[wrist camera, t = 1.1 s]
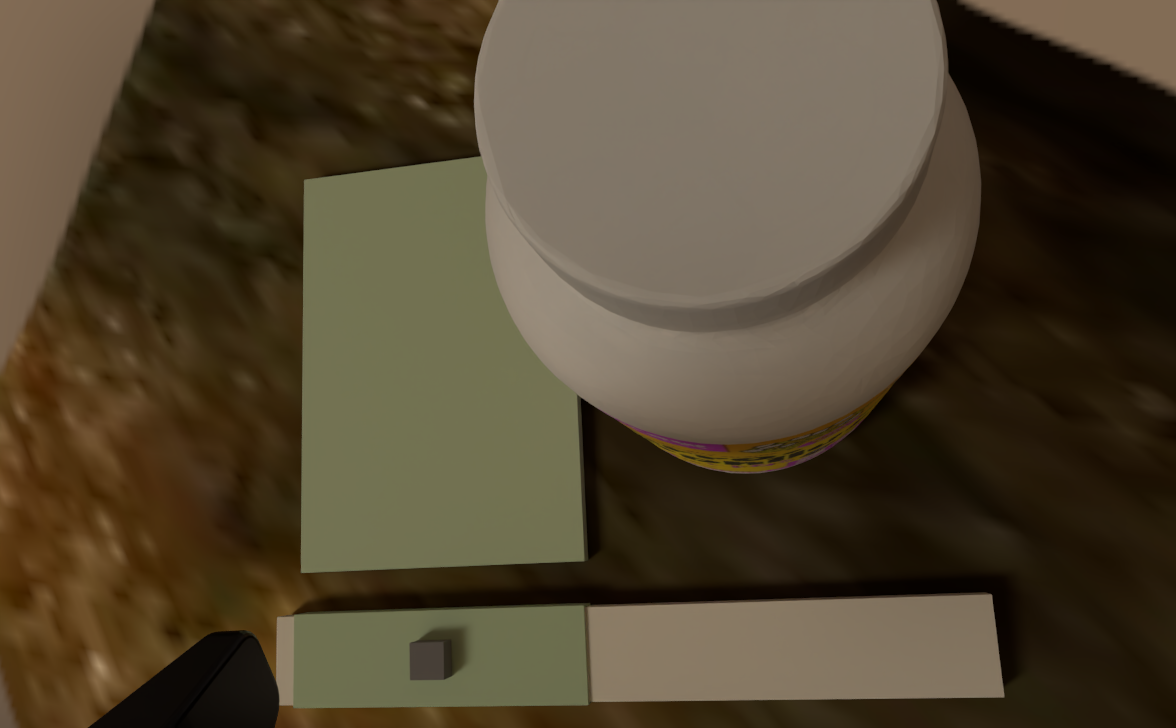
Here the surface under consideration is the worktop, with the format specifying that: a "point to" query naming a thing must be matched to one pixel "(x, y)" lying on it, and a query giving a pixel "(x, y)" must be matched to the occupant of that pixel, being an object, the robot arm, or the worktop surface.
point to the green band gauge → (519, 501)
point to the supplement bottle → (726, 209)
